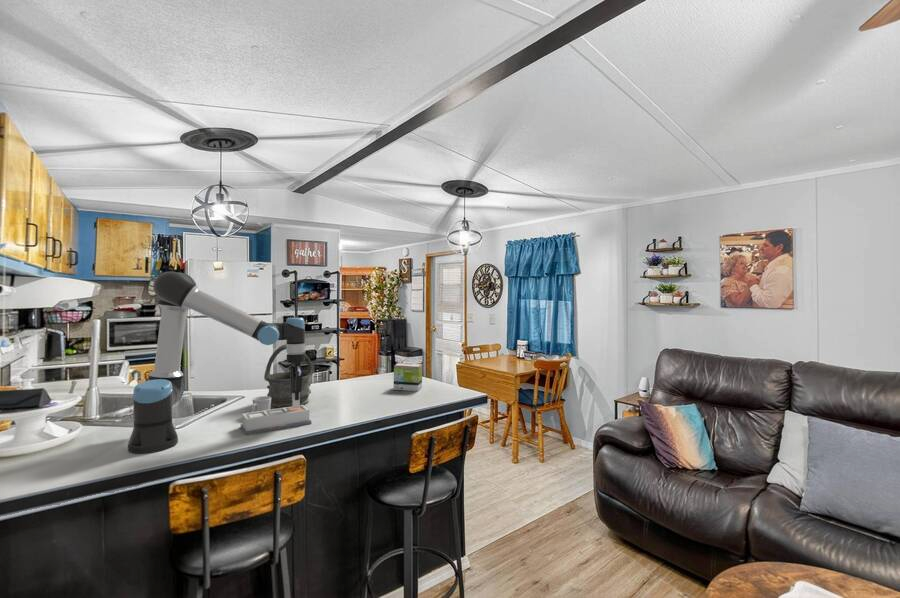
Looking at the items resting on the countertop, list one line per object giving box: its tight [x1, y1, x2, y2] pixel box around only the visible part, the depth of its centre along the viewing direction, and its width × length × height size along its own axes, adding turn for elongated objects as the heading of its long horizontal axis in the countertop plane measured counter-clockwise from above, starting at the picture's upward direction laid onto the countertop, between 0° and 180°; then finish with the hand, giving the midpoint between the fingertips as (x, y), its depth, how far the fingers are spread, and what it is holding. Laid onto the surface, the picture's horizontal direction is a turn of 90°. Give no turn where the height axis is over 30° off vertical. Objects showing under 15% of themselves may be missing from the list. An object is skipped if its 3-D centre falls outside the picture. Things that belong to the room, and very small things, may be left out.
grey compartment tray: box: [239, 404, 312, 436], centre depth 181 cm, size 26×12×6 cm, turn 125°
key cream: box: [248, 413, 264, 418], centre depth 176 cm, size 5×5×2 cm
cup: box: [250, 395, 272, 412], centre depth 194 cm, size 11×8×8 cm
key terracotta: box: [288, 407, 303, 412], centre depth 186 cm, size 5×5×2 cm
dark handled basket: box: [263, 344, 315, 409], centre depth 217 cm, size 22×23×30 cm
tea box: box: [393, 362, 423, 392], centre depth 250 cm, size 15×10×15 cm, turn 81°
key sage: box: [269, 410, 284, 415], centre depth 181 cm, size 5×5×2 cm
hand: (296, 407), depth 186 cm, fingers closed
